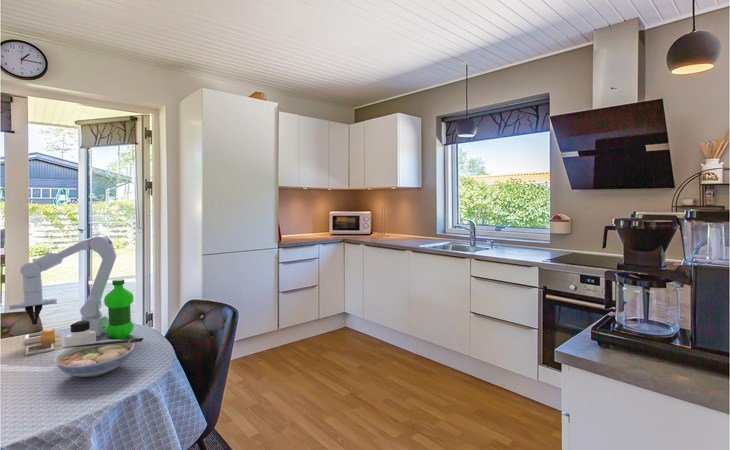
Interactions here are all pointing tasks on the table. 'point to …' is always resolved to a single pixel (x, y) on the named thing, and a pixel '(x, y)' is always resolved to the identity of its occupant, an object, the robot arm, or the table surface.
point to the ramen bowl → (95, 357)
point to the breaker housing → (32, 339)
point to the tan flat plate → (56, 346)
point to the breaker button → (35, 334)
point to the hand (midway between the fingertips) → (34, 323)
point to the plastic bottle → (119, 310)
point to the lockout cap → (47, 336)
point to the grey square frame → (39, 350)
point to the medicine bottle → (80, 334)
